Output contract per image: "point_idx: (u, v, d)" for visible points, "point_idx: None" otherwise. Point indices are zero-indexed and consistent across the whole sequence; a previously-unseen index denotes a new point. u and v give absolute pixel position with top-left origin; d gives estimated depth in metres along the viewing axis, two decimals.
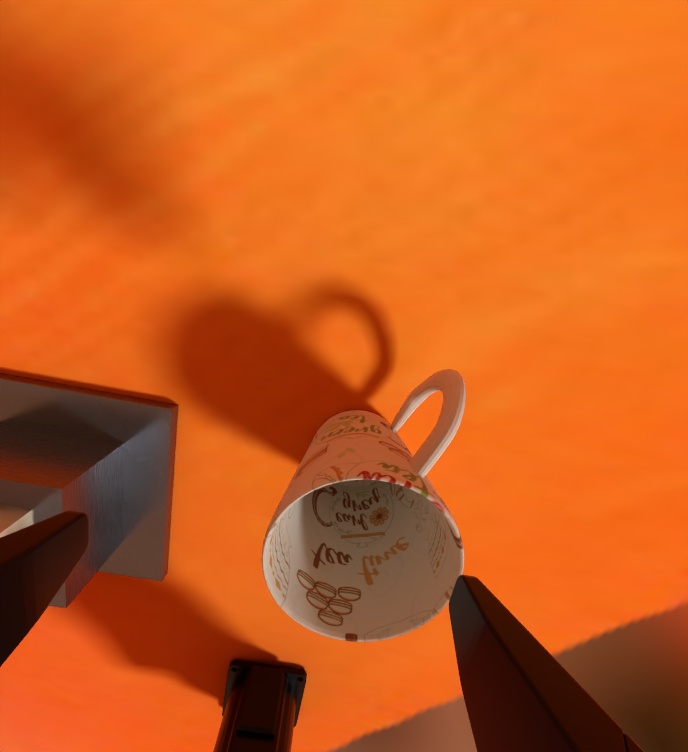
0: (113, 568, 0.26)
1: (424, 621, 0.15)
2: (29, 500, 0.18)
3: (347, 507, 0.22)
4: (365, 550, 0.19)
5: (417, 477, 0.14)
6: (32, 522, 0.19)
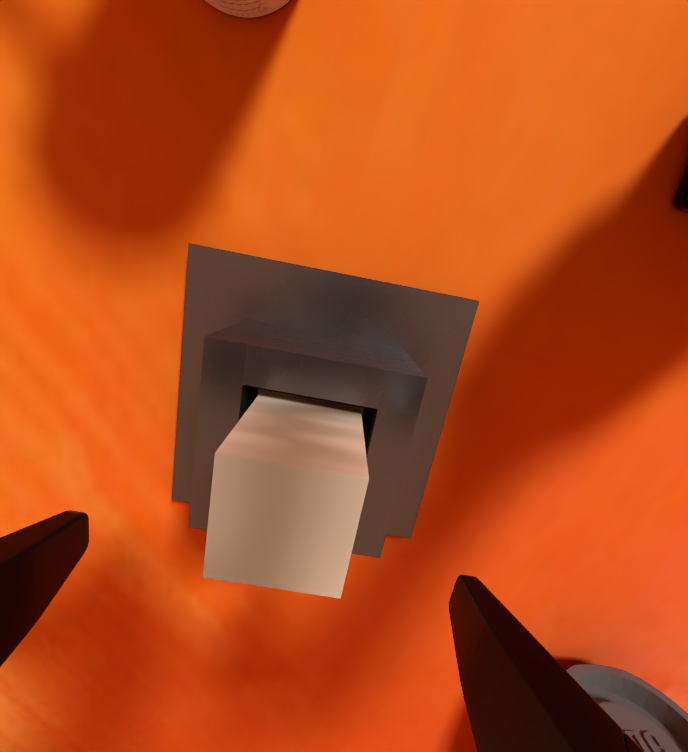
0: (449, 369, 0.18)
1: None
2: (228, 386, 0.13)
3: None
4: None
5: None
6: (278, 399, 0.13)
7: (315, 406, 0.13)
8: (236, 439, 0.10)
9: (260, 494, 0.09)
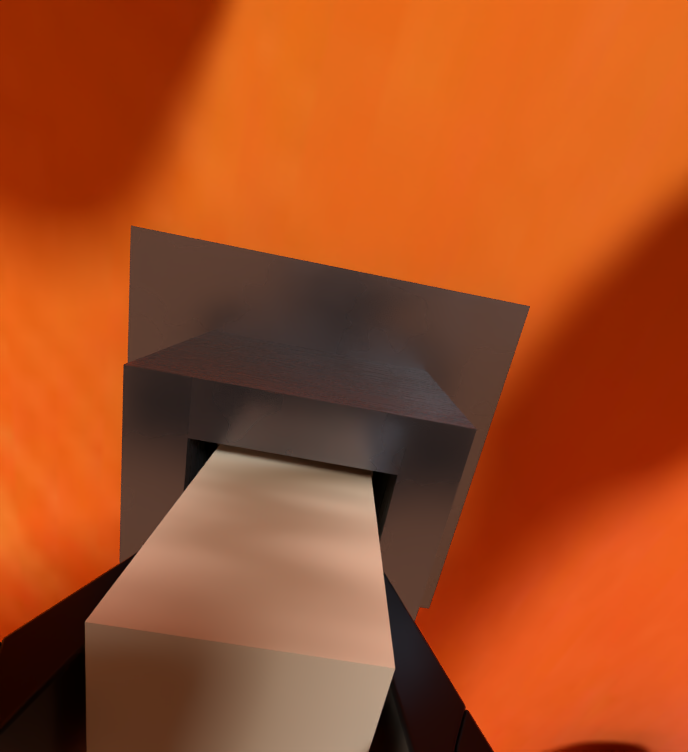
0: (486, 398, 0.13)
1: None
2: (165, 441, 0.08)
3: None
4: None
5: None
6: (246, 457, 0.09)
7: (302, 467, 0.09)
8: (146, 569, 0.05)
9: (183, 691, 0.05)
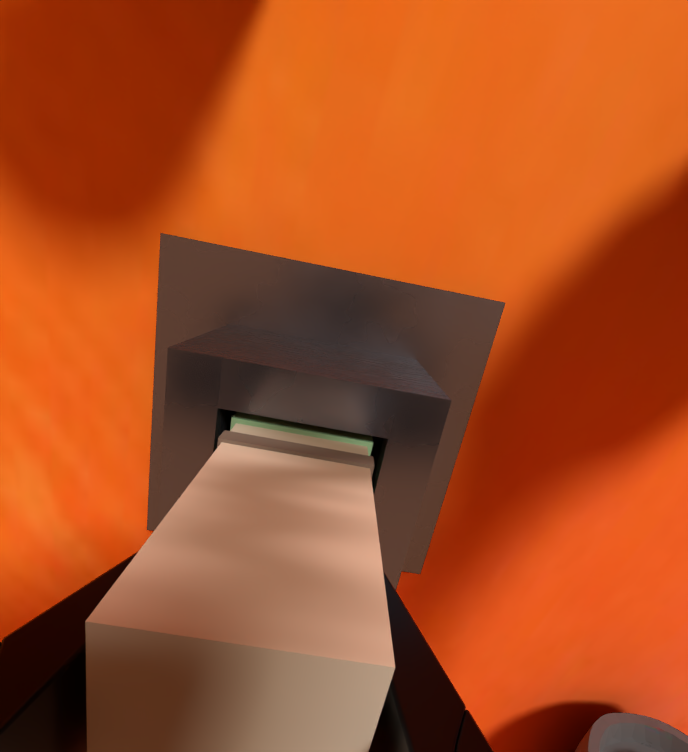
0: (468, 383, 0.15)
1: None
2: (199, 410, 0.10)
3: None
4: None
5: None
6: (246, 457, 0.09)
7: (302, 467, 0.09)
8: (146, 569, 0.05)
9: (183, 691, 0.05)
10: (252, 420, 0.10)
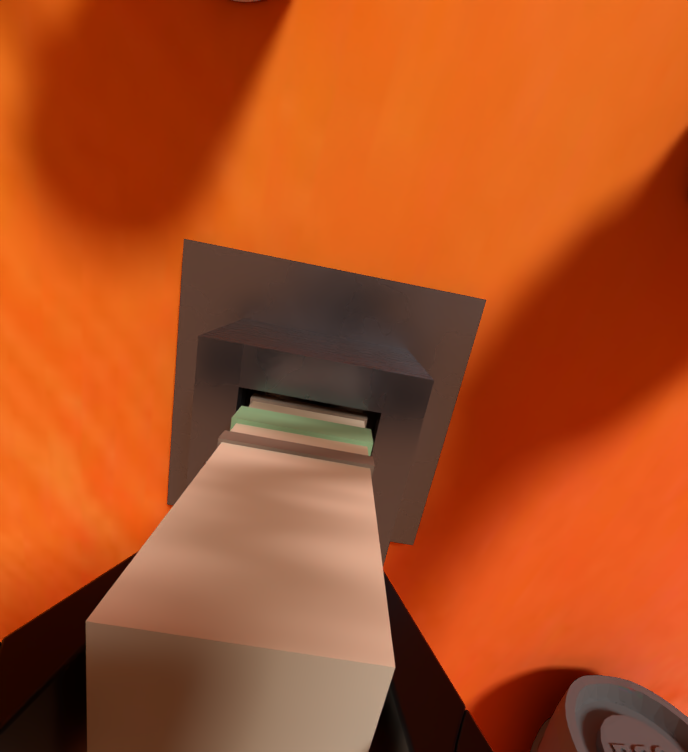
0: (454, 371, 0.17)
1: None
2: (223, 389, 0.12)
3: None
4: None
5: None
6: (246, 457, 0.09)
7: (302, 467, 0.09)
8: (146, 569, 0.05)
9: (184, 691, 0.05)
10: (252, 420, 0.10)
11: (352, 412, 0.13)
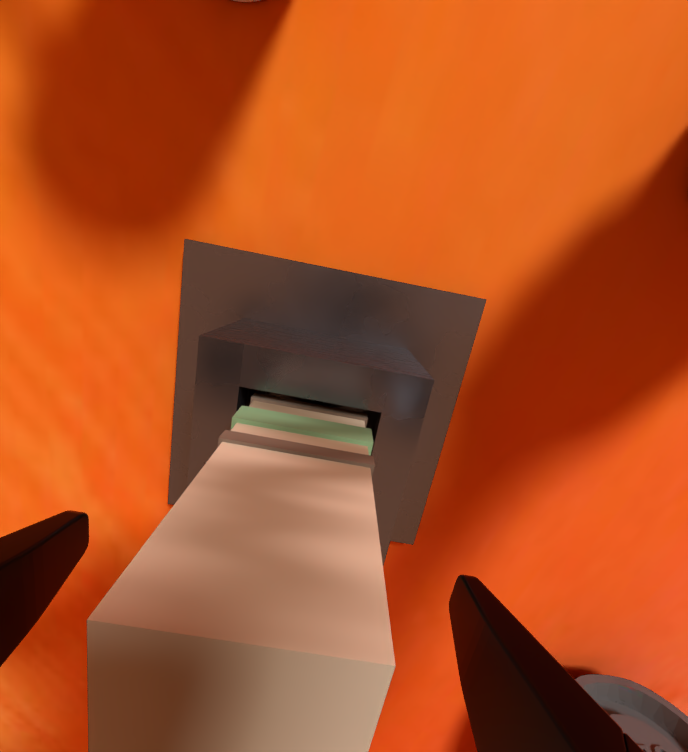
0: (454, 371, 0.17)
1: None
2: (224, 388, 0.12)
3: None
4: None
5: None
6: (247, 456, 0.09)
7: (302, 466, 0.09)
8: (147, 568, 0.05)
9: (184, 689, 0.05)
10: (253, 419, 0.10)
11: (352, 412, 0.13)
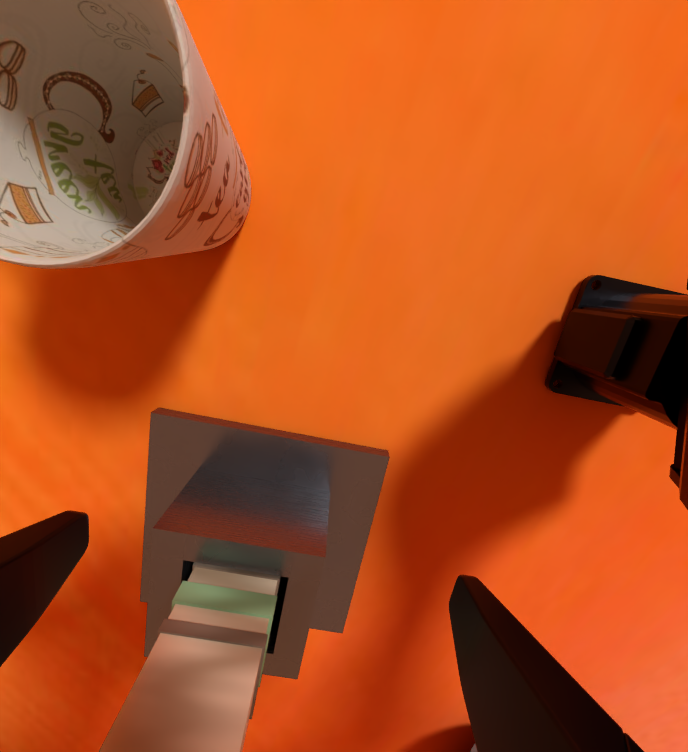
0: (368, 506, 0.21)
1: None
2: (172, 561, 0.16)
3: None
4: None
5: None
6: (175, 649, 0.13)
7: (212, 655, 0.13)
8: None
9: None
10: (187, 601, 0.15)
11: None
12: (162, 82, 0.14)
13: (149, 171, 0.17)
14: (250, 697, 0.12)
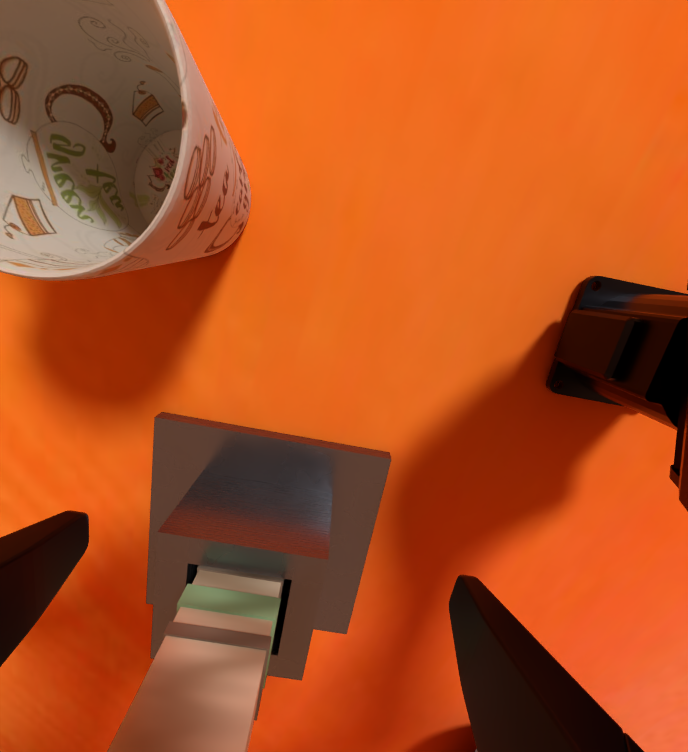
0: (370, 508, 0.22)
1: None
2: (176, 564, 0.16)
3: None
4: None
5: None
6: (180, 651, 0.13)
7: (217, 657, 0.13)
8: None
9: None
10: (192, 604, 0.15)
11: None
12: (162, 92, 0.14)
13: (150, 179, 0.17)
14: (254, 699, 0.12)
